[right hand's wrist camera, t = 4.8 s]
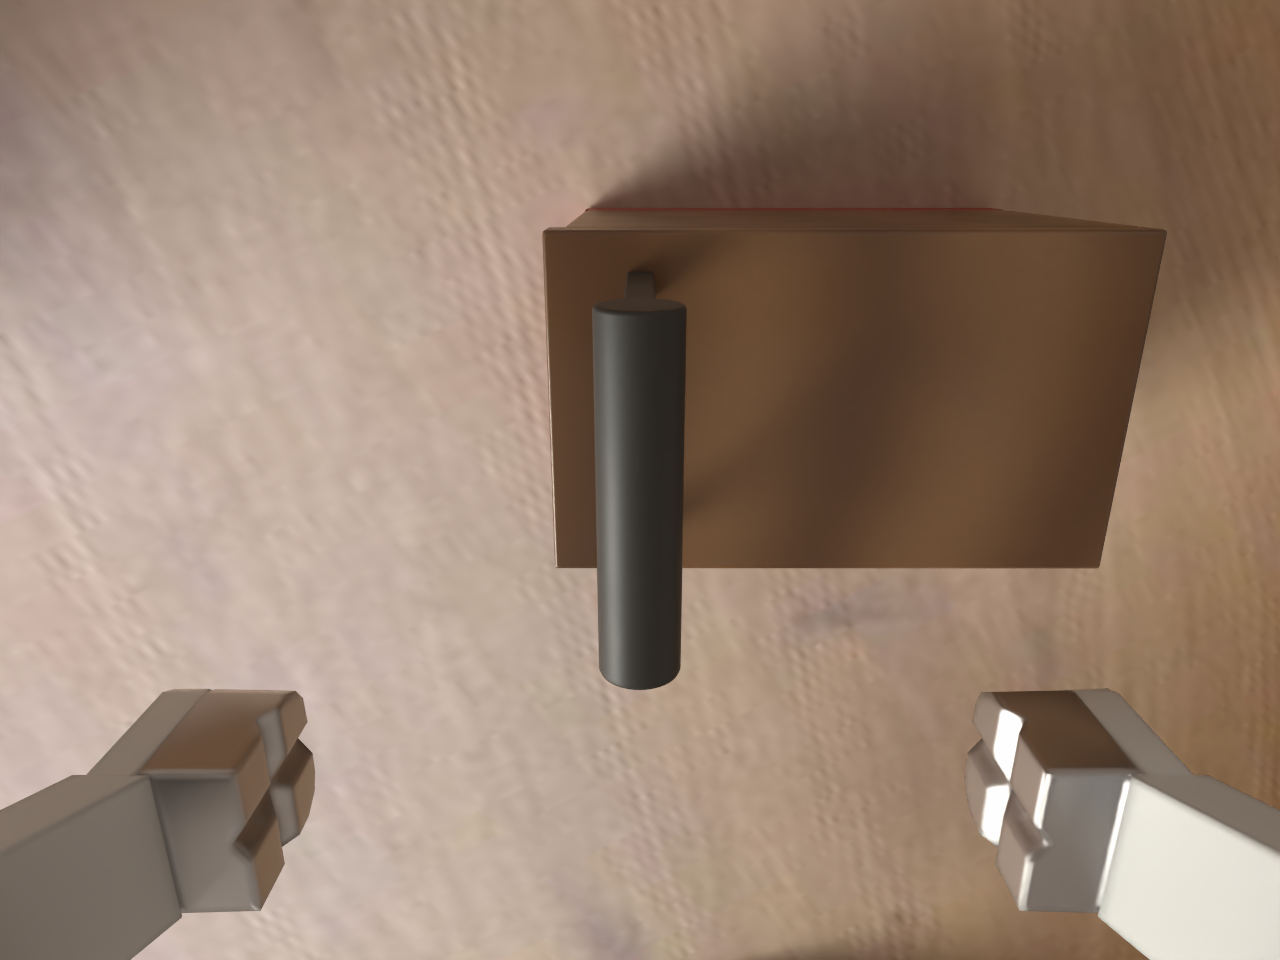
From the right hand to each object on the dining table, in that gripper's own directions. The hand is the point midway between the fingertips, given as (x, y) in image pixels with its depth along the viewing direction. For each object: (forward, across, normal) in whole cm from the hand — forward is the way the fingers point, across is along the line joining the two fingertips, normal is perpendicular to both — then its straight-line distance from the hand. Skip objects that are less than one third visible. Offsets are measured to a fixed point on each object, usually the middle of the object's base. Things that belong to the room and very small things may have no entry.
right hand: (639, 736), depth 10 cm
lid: (+16, +6, 0) cm, 17 cm away
